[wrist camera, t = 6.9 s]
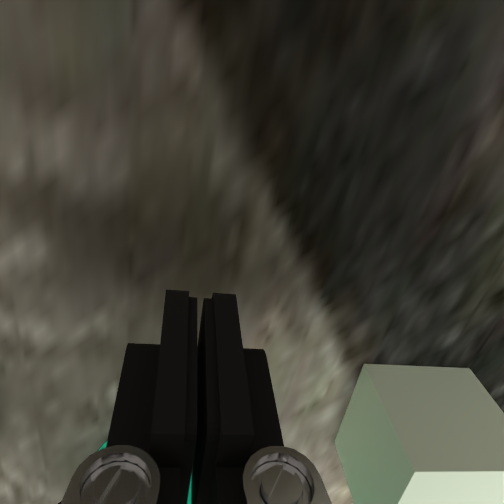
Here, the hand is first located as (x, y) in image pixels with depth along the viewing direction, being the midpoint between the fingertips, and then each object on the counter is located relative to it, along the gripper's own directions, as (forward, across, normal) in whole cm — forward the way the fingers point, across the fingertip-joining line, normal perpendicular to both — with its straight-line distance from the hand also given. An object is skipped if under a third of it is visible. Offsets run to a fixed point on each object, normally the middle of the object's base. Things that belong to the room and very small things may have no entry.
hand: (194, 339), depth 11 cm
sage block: (+3, -9, +6) cm, 11 cm away
